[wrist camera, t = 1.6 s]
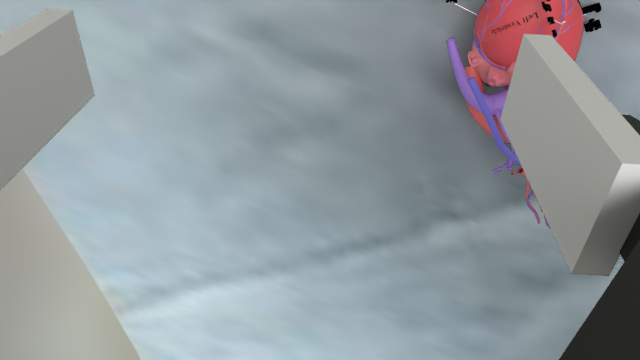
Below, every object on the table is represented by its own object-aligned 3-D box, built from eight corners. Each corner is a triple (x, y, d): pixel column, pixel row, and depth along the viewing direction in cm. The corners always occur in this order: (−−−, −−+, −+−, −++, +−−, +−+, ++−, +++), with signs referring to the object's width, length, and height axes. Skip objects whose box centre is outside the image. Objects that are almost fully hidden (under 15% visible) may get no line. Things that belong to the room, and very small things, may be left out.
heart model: (578, -77, 37) (647, 173, 39) (455, -20, 43) (521, 198, 45) (555, -132, 23) (664, 260, 25) (376, -37, 29) (479, 280, 31)
